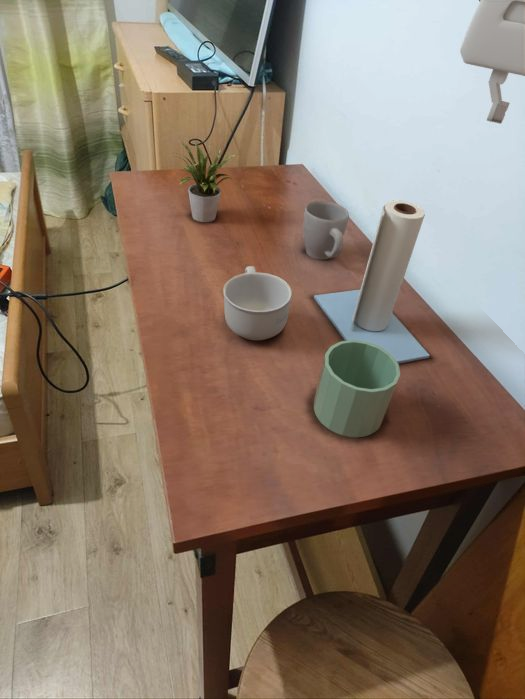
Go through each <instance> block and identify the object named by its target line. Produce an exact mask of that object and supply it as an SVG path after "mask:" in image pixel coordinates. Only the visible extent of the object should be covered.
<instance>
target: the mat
mask: <svg viewBox="0 0 525 699" xmlns="http://www.w3.org/2000/svg"><path fill="white" fill-rule="evenodd" d="M359 293H360V289H352V290H345V291H338V292H337V291H336V292H330V293H321V294H314V296H313V299H314V300H315V301H316V303H317V304H318V306H319V307H320V309H321V310H322V311H323V313H324V315H326V316H327V318H328V319H329V321H330V322H331V323H332V325H333V326H334V328H335V329H336V330H337V331H338V333H339V335H340V336H341V338H343V341H348V340H358V341H365V342H369V343H372V344H374V345H377V346H379V347H381V348H383V349H384V350H386V351H387V352H388V353H390V354H391V355H392V356H393V357H394V359H395V360H396V362H397V363H398V364H399V365H400V364H404V363H409V362H416V361H420V360H425V359H430V357H431V354H429V352H428V351H427V350H426V349H425V348H424V347H423V345H421V344H420V342H419V341H418V340H417V339H416V338H415V337H414V335H413V334H412V333H411V332H410V331H409V329H407V327H406V326H405V325H404V324H403V323H402V322H401V320H400V319H398V317H397V316H396V315H395V314H394V312H392V315H391V318H390V321H389V324H388V326H387V327H386V328H385V329H384V330H381V331H369V330H366V329H364V328H361V327H360V326H359V325H357V324H356V322H355V320H354V324H353V328H352V329H351V325H352V319H353V315H354V311H355V308H356V304H357V300H358V297H359ZM350 329H351V330H350Z"/></svg>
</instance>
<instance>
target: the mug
mask: <svg viewBox="0 0 525 699" xmlns="http://www.w3.org/2000/svg"><path fill="white" fill-rule="evenodd" d="M304 208H305V209H304V214H303V220H302V235H303V236H302V237H303V242H304V243H303V244H304V246H305V252H306V254H307V256H309V257H310V258H312V259H314V260H319V261H320V260H321V261H323V260H324V261H325V260H328V259H330V258H331V259H332V258H336V257H338V256H339V255H340V253H341V251H342V250H343V246H344V245H343V244H344V235H345V232H346V231H347V226H348V223H349V218H350V213H349V211H348V209H347V208H346V207H344V206H343V205H341V204H338V203H336V202H333V201H325V200H315V201H312V202H309V203H308V204H307V205H306V206H305V207H304Z"/></svg>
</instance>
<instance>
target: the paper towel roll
mask: <svg viewBox="0 0 525 699" xmlns="http://www.w3.org/2000/svg"><path fill="white" fill-rule="evenodd" d="M425 216H426V213H425V210H424V209H423V208H422V207H421V206H419V205H417V204H416V203H412V202H411V201H405V200H391V201H387V202H386V203H385V204H384V205H383V207H382V210H381V212H380V217H379V221H378V223H377V224H378V225H377V228H376V230H375V231H376V232H375V235H374V238H373V242H372V245H371V250H370V253H369V256H368V260H367V264H366V267H365V271H364V275H363V280H362V282H361V286H360V289H359V290H360V293H359V297H358V300H357V304H356V308H355V311H354V315H353V319H352V325H351V329H352V328H353V324H354V320H355V322H356V324H357V325H359V326H360V327H361V328H364V329H366V330H369V331H381V330H384V329H385V328H386V327H387V326H388V324H389V321H390V318H391V315H392V313H394V312H393V310H394V308H395V305H396V303H397V299H398V296H399V293H400V290H401V288H402V284H403V283H404V282H403V281H404V279H405V276H406V273H407V269H408V266H409V263H410V261H411V257H412V255H413V252H414V249H415V245H416V242H417V240H418V236H419V234H420V231H421V228H422V224H423V221H424V218H425ZM351 329H350V330H351Z"/></svg>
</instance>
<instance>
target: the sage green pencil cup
mask: <svg viewBox="0 0 525 699" xmlns="http://www.w3.org/2000/svg"><path fill="white" fill-rule="evenodd" d="M400 378H401V370H400V363H399V364H398V363H397V362H396V360H395V359H394V357H393V356H392V355H391V354H390V353H388V352H387V351H386V350H384V349H383V348H381V347H379V346H377V345H374V344H372V343H369V342H365V341H358V340H348V341H345V340H341V341H339V342H336V343H334V344H333V345H330V347H329V348H328V349H327V351H326V352H325V354H324V356H323V361H322V366H321V370H320V374H319V377H318V382H317V386H316V389H315V394H314V398H313V411H314V414H315V416H316V418H317V420H318V421H319V423H321V424H322V426H324V427H325V428H326V429H328V430H329V431H330V432H332V433H335V434H337V435H339V436H342V437H347V438H364V437H368V436H370V435H372V434H374V433H376V432H377V431H378V430H379V429H380V427H381V426H382V423H383V421H384V419H385V416H386V413H387V411H388V409H389V406H390V403H391V401H392V399H393V396H394V393H395V390H396V388H397V386H398V383H399V379H400Z"/></svg>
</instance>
